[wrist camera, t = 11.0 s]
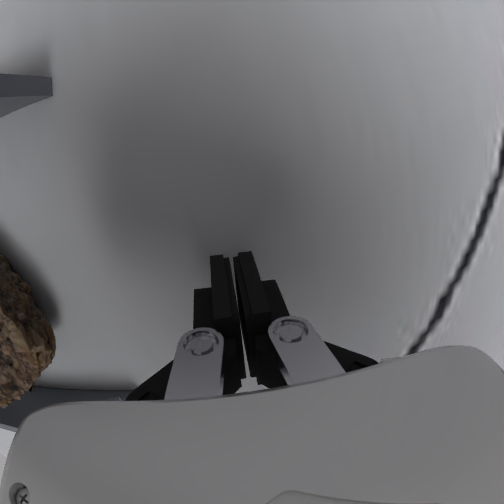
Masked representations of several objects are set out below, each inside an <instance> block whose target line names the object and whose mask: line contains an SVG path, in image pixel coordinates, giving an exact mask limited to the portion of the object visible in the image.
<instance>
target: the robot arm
mask: <svg viewBox="0 0 504 504" xmlns="http://www.w3.org/2000/svg"><path fill="white" fill-rule="evenodd" d="M233 262H234V272H235V282H236V292H237V301H238V306H237V301H236V295H235V289H234V284H233V278H232V272H231V266H230V261H229V257H227V258H224V256H223V255H214V256H210V267H211V285H212V287H211V288H202V289H195V290H194V321H193V330H190V331H188V332H187V333H185V334H184V335H183V336H182V337H181V338H180V340H179V343H178V346H177V350H176V354H175V358H174V360H172V361H171V362H170V363H169V364H167V365H166V366H165V367H163V368H162V369H161V370H160V371H158V372H157V373H156V374H154V375H153V376H152V377H150V378H149V379H148V380H146V381H145V382H144V383H143V384H141V385H140V386H139V387H137V388H136V389H135V390H133V391H132V392H131V393H130V394H129V395H128V396H127V398H126V399H122V400H121V399H120V397H116V398H110V399H105V400H99V401H80V402H67V403H61V404H54V405H51V406H47V407H44V408H41V409H38V410H36V411H34V412H32V413H30V414H29V415H28V416H27V417H26V418H25V419H24V420H23V421H22V423H21V424H20V426H19V428H18V430H17V432H16V434H15V436H14V439H13V441H12V444H11V447H10V450H9V453H8V456H7V460H6V464H5V467H4V472H3V476H2V480H1V486H0V504H504V371H503V370H502V368H501V367H500V366H499V365H498V364H497V363H496V362H495V361H494V360H493V359H492V358H491V357H490V356H488V355H487V354H486V353H484V352H483V351H481V350H480V349H477V348H475V347H470V346H444V347H437V348H433V349H429V350H424V351H421V352H418V353H414V354H411V355H407V356H404V357H397V358H387V359H381V362H378V363H377V362H376V361H375V360H373V359H371V358H369V357H366V356H364V355H361V354H358V353H355V352H352V351H349V350H347V349H344V348H341V347H338V346H336V345H333V344H330V343H328V342H325V341H323V340H322V339H321V337H320V336H319V335H318V333H317V332H316V330H315V329H314V328H313V326H312V325H311V324H310V323H309V322H308V321H307V320H305V319H303V318H300V317H296V316H290V315H289V312H288V310H287V307H286V305H285V302H284V300H283V297H282V295H281V292H280V290H279V288H278V285H277V283H276V281H275V280H267V281H261V279H260V276H259V273H258V270H257V267H256V264H255V261H254V257H253V254H252V252H251V251H248V252H239V253H238V256H235V257H233ZM238 311H239V312H238ZM239 318H240V319H239ZM240 323H241V327H240ZM241 329H242V334H243V339H244V345H245V350H246V355H247V361H248V366H249V371H250V376H251V377H256V378H257V382H258V385H260V384H262V385H264V386H266V387H268V388H270V389H264V390H258V391H251V392H244V393H236V394H234V393H235V392H236V391H237V390H238V389H239V388H240V387H241V386H242V385H241V379H244V378H246V372H245V363H244V354H243V345H242V336H241Z"/></svg>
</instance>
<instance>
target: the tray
mask: <svg viewBox="0 0 504 504" xmlns="http://www.w3.org/2000/svg"><path fill="white" fill-rule="evenodd" d="M50 96H52V82H51V78H46V77H37V76H26V75H12V74H0V118H1V117H3V116H5V115H7V114H9V113H11V112H13V111H16V110H18V109H20V108H23V107H25V106H27V105H30V104H32V103H35V102H37V101H40V100H42V99H45V98H48V97H50ZM131 392H132V391H91V390H70V389H56V388H45V387H36V388H35V389H33V390H32V391H31V392H28V391H26V392H25V394H21V400H18V399H15V400H14V402H13V403H9V405H8V406H7V408H5V409H4V408H3V407H0V428H3V429H6V430H10V431H13V432H17V430H18V428H19V426H20V424H21V423H22V421H23V420H24V419H25V418H26V417H27V416H28V415H29V414H30V413H32V412H34V411H36V410H38V409H41V408H44V407H47V406H51V405H54V404H61V403H67V402H80V401H99V400H105V399H110V398H116V397H120V399H121V400H122V399H126V398H127V396H128V395H129V394H130V393H131Z"/></svg>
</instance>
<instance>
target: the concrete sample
mask: <svg viewBox="0 0 504 504" xmlns="http://www.w3.org/2000/svg"><path fill="white" fill-rule="evenodd" d="M30 291H31V288H30V286H29V284H28V283H26V282H22V280H21V278H20V276H19V274H17V273H14V272H13V271H12V270H11V269H10V264H9V263H8V261H7V260H6V259H5V258H4V256H3V255H1V254H0V407H3V408H4V409H5V408H7V406H8V405H9V403H13V402H14V400H15V399H18V400H21V394H25V392H26V391H28V392H31V391H32V390H33V389H35V388H36V387H35V383H34V382H35V381H36V380H37V379H38V378H39V377H40V376H41V372H42V371H43V370H45V369H46V368H47V367H48V365H49V364H51V363H52V359H53V358H54V356H55V349H56V343H55V336H54V333H53V330H52V328H51V326H50V325H49V324H48V323H47V321H46V319H44V317H43V315H42V312H41V311H40V310H38V309H37V308H35V305H34V301H33V297H31V296H30Z"/></svg>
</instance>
